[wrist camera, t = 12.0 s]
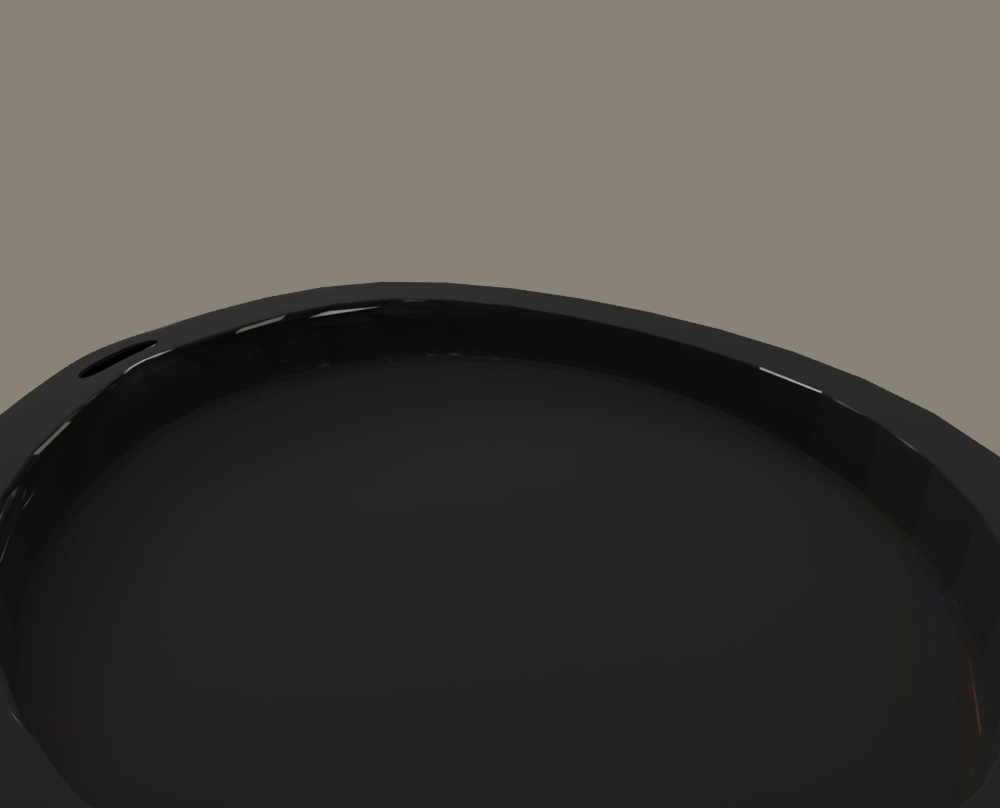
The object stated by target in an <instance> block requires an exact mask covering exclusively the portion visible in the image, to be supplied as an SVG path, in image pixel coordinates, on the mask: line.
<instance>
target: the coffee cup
mask: <svg viewBox="0 0 1000 808" xmlns="http://www.w3.org/2000/svg"><path fill="white" fill-rule="evenodd" d="M0 808H1000V457H999V456H998V455H996V454H995V453H993V452H992V451H990V450H989V449H987V448H986V447H984V446H982V445H981V444H979V443H978V442H976V441H975V440H973V439H972V438H970V437H969V436H967V435H966V434H964V433H963V432H961V431H960V430H958V429H957V428H955V427H954V426H952V425H951V424H949V423H948V422H946V421H945V420H943V419H942V418H940V417H939V416H937V415H936V414H934V413H932V412H930V411H928V410H926V409H924V408H922V407H920V406H918V405H916V404H914V403H911V402H910V401H908V400H905V399H903V398H901V397H899V396H897V395H895V394H893V393H891V392H889V391H887V390H885V389H883V388H881V387H879V386H877V385H875V384H873V383H871V382H869V381H867V380H865V379H862V378H860V377H857V376H855V375H852V374H850V373H847V372H844V371H842V370H839V369H836V368H834V367H831V366H829V365H826V364H824V363H821V362H819V361H816V360H813V359H811V358H808V357H806V356H803V355H800V354H798V353H795V352H793V351H789V350H786V349H782V348H780V347H776V346H773V345H770V344H766V343H763V342H760V341H756V340H753V339H750V338H746V337H743V336H740V335H736V334H733V333H730V332H727V331H724V330H720V329H716V328H712V327H708V326H704V325H700V324H696V323H692V322H688V321H683V320H679V319H675V318H671V317H667V316H663V315H659V314H655V313H651V312H646V311H641V310H636V309H631V308H626V307H621V306H616V305H610V304H605V303H600V302H595V301H590V300H584V299H580V298H573V297H566V296H560V295H552V294H546V293H539V292H533V291H525V290H519V289H511V288H501V287H489V286H477V285H467V284H455V283H428V282H376V283H365V284H354V285H343V286H332V287H321V288H316V289H311V290H305V291H300V292H294V293H289V294H283V295H278V296H272V297H267V298H263V299H259V300H255V301H251V302H247V303H243V304H239V305H235V306H231V307H228V308H224V309H220V310H216V311H212V312H209V313H206V314H203V315H199V316H196V317H193V318H189V319H186V320H183V321H180V322H176V323H173V324H170V325H167V326H164V327H161V328H158V329H155V330H151V331H149V332H145V333H142V334H139V335H136V336H133V337H130V338H127V339H124V340H122V341H119V342H116V343H114V344H111V345H108V346H106V347H103V348H101V349H99V350H96V351H94V352H92V353H90V354H88V355H86V356H84V357H82V358H80V359H79V360H77V361H75V362H74V363H72V364H70V365H69V366H67V367H65V368H64V369H62V370H61V371H59V372H58V373H57V374H55V375H54V376H52V377H51V378H49V379H48V380H46V381H45V382H44V383H42V384H41V385H39V386H38V387H37V388H35V389H34V390H32V391H31V392H30V393H28V394H27V395H25V396H24V397H23V398H22V399H20V400H19V401H18V402H16V403H15V404H14V405H12V406H11V407H10V408H9V409H7V410H6V411H5V412H4V413H2V414H1V415H0Z"/></svg>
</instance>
